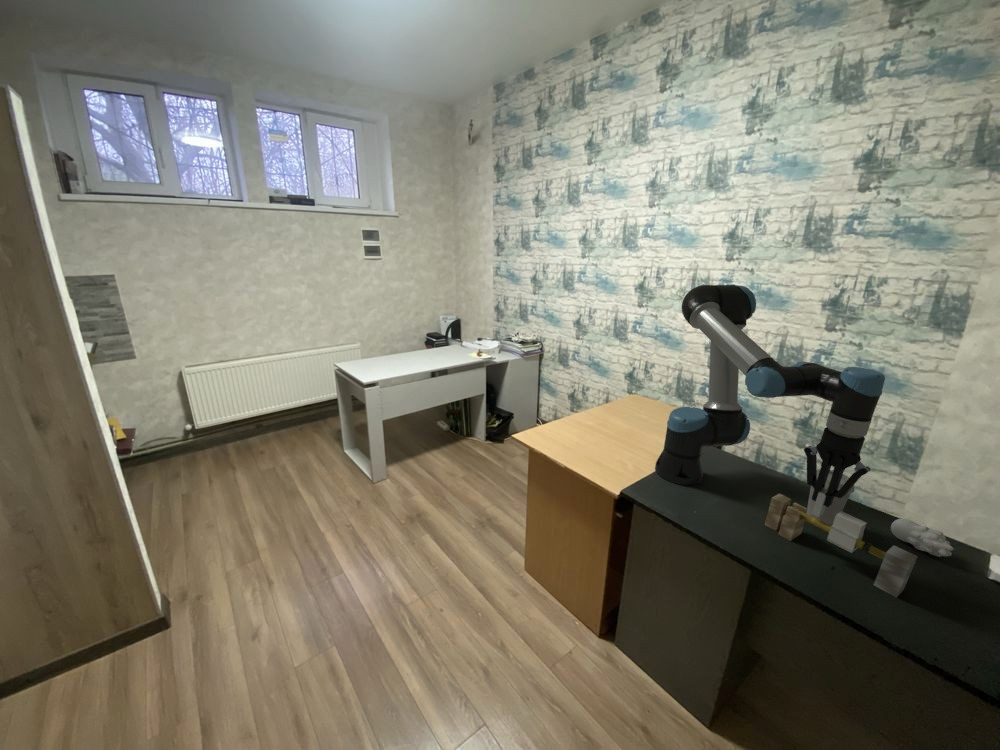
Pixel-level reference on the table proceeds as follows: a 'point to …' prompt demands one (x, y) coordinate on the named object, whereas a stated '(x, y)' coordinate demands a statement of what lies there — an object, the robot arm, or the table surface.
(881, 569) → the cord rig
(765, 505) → the table surface
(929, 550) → the figurine
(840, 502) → the coffee cup
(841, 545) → the grey stepped block
